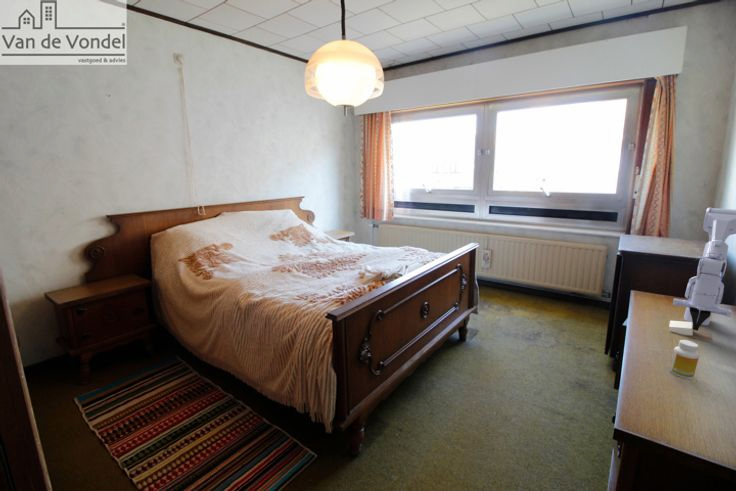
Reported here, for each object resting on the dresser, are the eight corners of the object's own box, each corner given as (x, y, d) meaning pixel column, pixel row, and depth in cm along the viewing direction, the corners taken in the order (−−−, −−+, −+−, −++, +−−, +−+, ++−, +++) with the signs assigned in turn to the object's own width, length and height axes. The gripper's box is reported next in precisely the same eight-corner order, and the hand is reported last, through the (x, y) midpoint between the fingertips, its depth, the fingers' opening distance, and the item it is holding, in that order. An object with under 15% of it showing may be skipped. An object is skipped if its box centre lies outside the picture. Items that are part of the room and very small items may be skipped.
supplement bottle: (698, 380, 98) (706, 349, 96) (676, 377, 99) (684, 346, 97) (685, 369, 103) (693, 339, 101) (664, 367, 104) (672, 337, 102)
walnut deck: (684, 330, 128) (685, 327, 127) (710, 337, 123) (711, 334, 123) (683, 338, 122) (684, 335, 122) (711, 345, 117) (712, 342, 117)
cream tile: (670, 327, 130) (670, 320, 130) (692, 328, 126) (692, 322, 125) (669, 333, 125) (669, 326, 124) (692, 335, 121) (692, 328, 120)
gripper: (676, 290, 121) (667, 326, 124) (736, 301, 112) (724, 340, 115) (677, 285, 126) (668, 319, 130) (734, 296, 117) (723, 333, 120)
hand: (695, 329), depth 123 cm, fingers closed
